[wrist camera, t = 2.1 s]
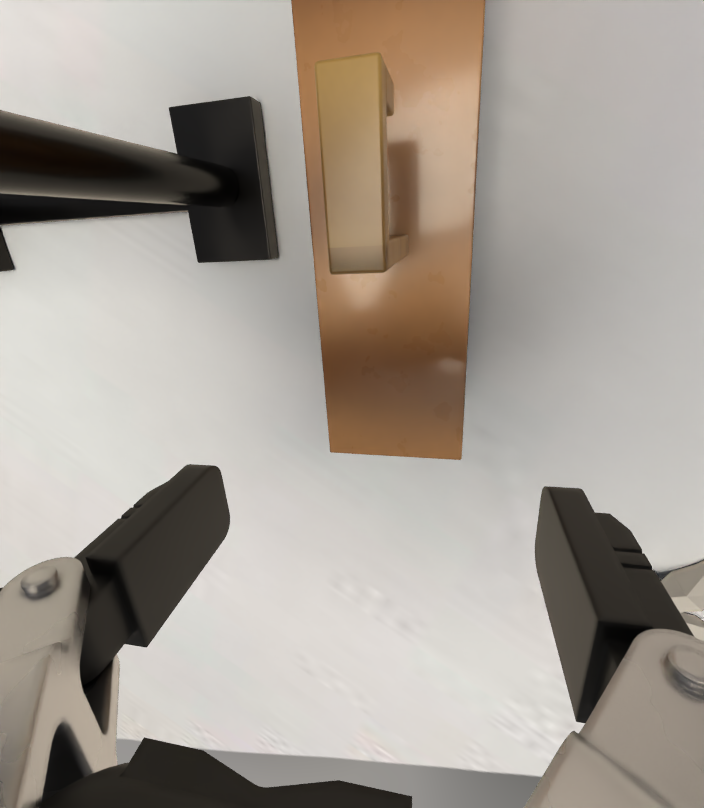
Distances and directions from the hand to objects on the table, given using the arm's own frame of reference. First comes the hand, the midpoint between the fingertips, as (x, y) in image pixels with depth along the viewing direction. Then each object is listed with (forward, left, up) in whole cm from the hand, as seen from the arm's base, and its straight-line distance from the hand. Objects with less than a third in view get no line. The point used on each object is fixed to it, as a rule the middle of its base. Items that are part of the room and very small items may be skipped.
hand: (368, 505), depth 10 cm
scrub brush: (-7, -2, -11) cm, 13 cm away
